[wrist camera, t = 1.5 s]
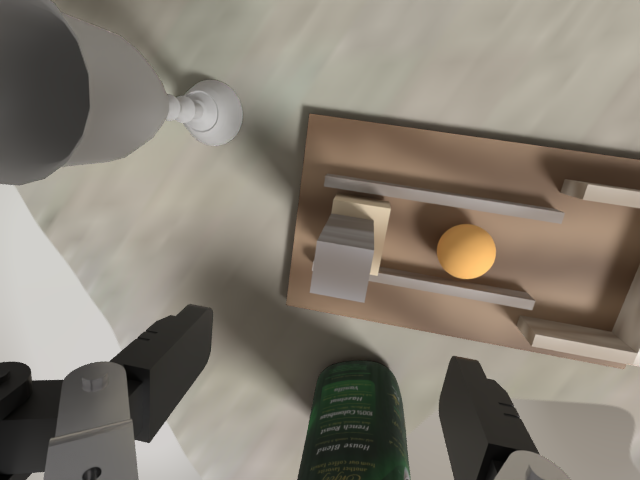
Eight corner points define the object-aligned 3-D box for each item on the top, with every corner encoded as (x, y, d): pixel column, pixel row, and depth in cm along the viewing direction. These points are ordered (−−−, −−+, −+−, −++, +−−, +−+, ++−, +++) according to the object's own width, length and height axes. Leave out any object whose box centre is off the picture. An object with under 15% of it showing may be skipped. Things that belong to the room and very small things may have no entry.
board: (311, 114, 29) (302, 110, 25) (699, 168, 26) (755, 174, 22) (288, 300, 33) (277, 321, 29) (616, 361, 31) (651, 394, 27)
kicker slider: (337, 193, 29) (319, 222, 19) (389, 201, 28) (397, 235, 19) (328, 253, 30) (307, 309, 20) (377, 262, 30) (379, 322, 20)
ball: (439, 214, 28) (449, 227, 25) (492, 223, 28) (511, 237, 24) (427, 263, 30) (436, 282, 26) (478, 271, 29) (494, 292, 25)
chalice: (192, 170, 31) (-29, 213, 14) (155, 90, 30) (-140, 29, 13) (269, 136, 30) (127, 139, 12) (234, 50, 28) (19, -81, 11)
